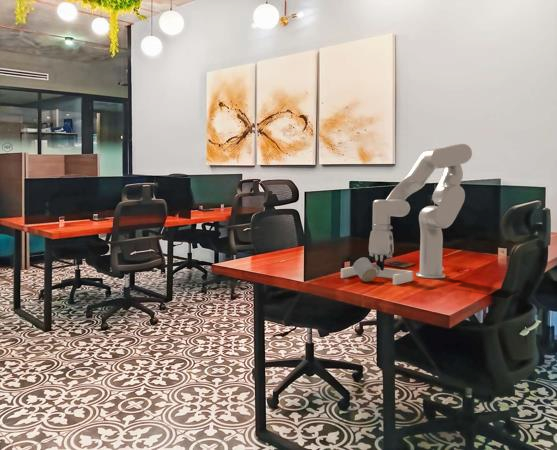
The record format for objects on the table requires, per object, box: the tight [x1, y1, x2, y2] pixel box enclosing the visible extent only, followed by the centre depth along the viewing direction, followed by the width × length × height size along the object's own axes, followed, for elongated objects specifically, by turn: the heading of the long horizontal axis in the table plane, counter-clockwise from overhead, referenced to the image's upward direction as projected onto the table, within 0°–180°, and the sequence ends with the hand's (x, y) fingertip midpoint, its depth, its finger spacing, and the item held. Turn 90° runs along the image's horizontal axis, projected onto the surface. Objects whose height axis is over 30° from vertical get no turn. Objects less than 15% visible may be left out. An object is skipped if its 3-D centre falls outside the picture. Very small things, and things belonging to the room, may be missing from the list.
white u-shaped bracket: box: [340, 266, 414, 286], centre depth 219 cm, size 16×26×4 cm, turn 49°
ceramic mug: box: [352, 256, 381, 283], centre depth 213 cm, size 11×8×8 cm
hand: (380, 270), depth 221 cm, fingers closed
